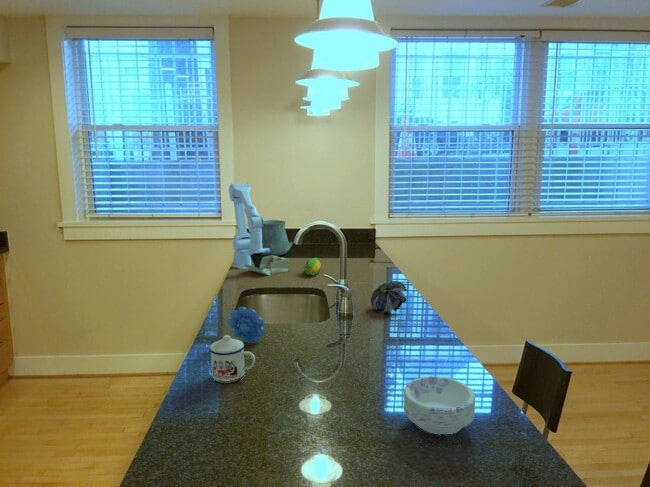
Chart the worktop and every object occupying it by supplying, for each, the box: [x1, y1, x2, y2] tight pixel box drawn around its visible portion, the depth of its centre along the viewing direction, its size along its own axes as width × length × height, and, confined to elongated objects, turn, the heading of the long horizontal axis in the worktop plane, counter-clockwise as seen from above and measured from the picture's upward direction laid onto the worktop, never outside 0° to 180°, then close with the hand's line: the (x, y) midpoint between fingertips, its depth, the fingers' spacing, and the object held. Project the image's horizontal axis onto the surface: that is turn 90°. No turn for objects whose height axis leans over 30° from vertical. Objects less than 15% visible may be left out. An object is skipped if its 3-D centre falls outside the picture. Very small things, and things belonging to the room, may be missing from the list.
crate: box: [260, 255, 290, 276], centre depth 249 cm, size 14×11×7 cm
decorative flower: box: [370, 280, 408, 316], centre depth 188 cm, size 14×12×15 cm
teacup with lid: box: [209, 334, 256, 381], centre depth 132 cm, size 12×9×12 cm
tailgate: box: [245, 264, 272, 276], centre depth 243 cm, size 14×1×6 cm
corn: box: [303, 257, 321, 276], centre depth 246 cm, size 7×8×20 cm
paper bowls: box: [403, 375, 476, 435], centre depth 108 cm, size 15×15×8 cm
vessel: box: [262, 219, 293, 257], centre depth 289 cm, size 22×22×20 cm
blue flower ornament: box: [228, 306, 266, 343], centre depth 155 cm, size 12×7×12 cm, turn 84°
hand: (257, 268), depth 243 cm, fingers closed
